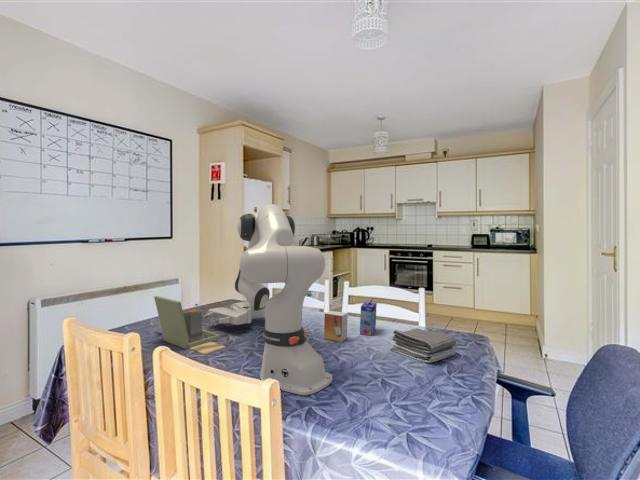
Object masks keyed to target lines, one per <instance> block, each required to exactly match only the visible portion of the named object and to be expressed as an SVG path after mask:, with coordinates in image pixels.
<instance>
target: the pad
mask: <svg viewBox="0 0 640 480" xmlns="http://www.w3.org/2000/svg"><path fill="white" fill-rule="evenodd" d="M225 348H226V346H225V345H222V344H219V343H217V342H214V341H211V342H208V343H205V344H201V345H198V346H195V347H192V348H189V350H191V351H193V352H197V353H199V354H201V355H204V356H205V355H208V354H211V353H214V352H216V351H221V350H224V349H225Z"/></svg>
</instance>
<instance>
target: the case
mask: <svg viewBox="0 0 640 480" xmlns="http://www.w3.org/2000/svg"><path fill="white" fill-rule="evenodd" d="M153 298H154V302H155V306H156V310H157V314H158V321H159V320H160V324H161V328H162V334H161V340H162V341H164V342H167V343H169V344H172V345H175V346H177V347H180V348H182V349H184V350H188V349H190V348H192V347H195V346H198V345H201V344H205V343H208V342H214V341H218V340H221V334H218V333H215V332H213V331H209V330H206V329H203V328H202V335H204V336H207V337H205V338H202V340H198V341H195V342H192V343H190V342H188V334H187V329H186V324H185V320H184V315H183V313H184V311H183V308H182V307H183V305H182V303H181V301H178V300H176V299H172V298H167V297H164V296H163V297H162V296H158V295H155V296H153Z"/></svg>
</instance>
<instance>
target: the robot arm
mask: <svg viewBox="0 0 640 480" xmlns="http://www.w3.org/2000/svg"><path fill="white" fill-rule="evenodd" d="M295 223H296V222H295V220H294V218H293V217H292V216H289V215H287V214H286V213H285V212H284V210H283V209H282V208H281V207H280V206H279V205H277V204H273V203H270V204H266V205H263V206H262V207H261V208H260V209H259V211H258V213H245V214H243V215H241V216H240V218H239V220H238V223H237V228H236V229H237V233H238V235H239V238H240V239H241V241H245V242H248V246H247V248H246V249H244V251H243V253H242V255H241V257H240V260H239V269H238V274H237V277H236V279H235V282H234V289H235V291H236V292H237V293H239V294H241V296H243V297H244V298H245V300H244V301H241V302H236V303H232V304H231V305H230V307H229V308H228V307H224V306H223V307H215V308H210V309H208V310H207V313H206V314H204V316H203V319H204V320H207V321H208V320H211V319H213V320H216V321H217V323H218V324H226V323H228V324H232V325H237V326H238V325H239V326H240V325H244V324H247V325H248V324H251V323H252V320H255V319H258V318H260V317H263V316H264V322H265V324H264V328H263V341H264V347H263V354H262V361H261V362H262V363H261V368H260V371H259V380H260V379H261V380H264V379H267V378H272V379H276V380H278V381H279V382H280V386H281V390H280V391H282V392H283V391H284V392H287V393H291V394H295V395H300V396H308V395H309V396H310V395H312V394H315V393H317V392H320V391H322V390H323V389H325V388H326V387H328V386H329V385H330V384H331V383H332V382H333V374H332V373H329V372H328V371H326V369H325V362H324V358H323V357H322V356H321V355H320V354H319V353H318V352H317V351H316V350H315V349H314V348H313V347H312V345H311V344H310V343H309V342H308V341H307V337H309V336H310V335H309V334H310V332H305V330H304V328H303V324H302V323H303V309H304V302H305V298H306V295H307V293H308V291H309V289H310V288H311V286H312V285H313V284H314V283H315V282H316V281H317V280H318V279H320V278H321V277H322V275H323V274H324V271H325V269H326V259H325V256H324V254H323V252H322V251H321V249H319V248H316V247H312V246H306V245H293V243H294V238H295V237H294V236H295V233H296V225H295ZM281 283H282V284H283V283H284V286H283V287H282V289H281V290H280V291H279V292H278V293H275V294H274V295H272V296H271V297H270V295H271V294H270V292H271V291H270V289H269V288H268V287H267V286H266V285H265V284H281Z"/></svg>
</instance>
